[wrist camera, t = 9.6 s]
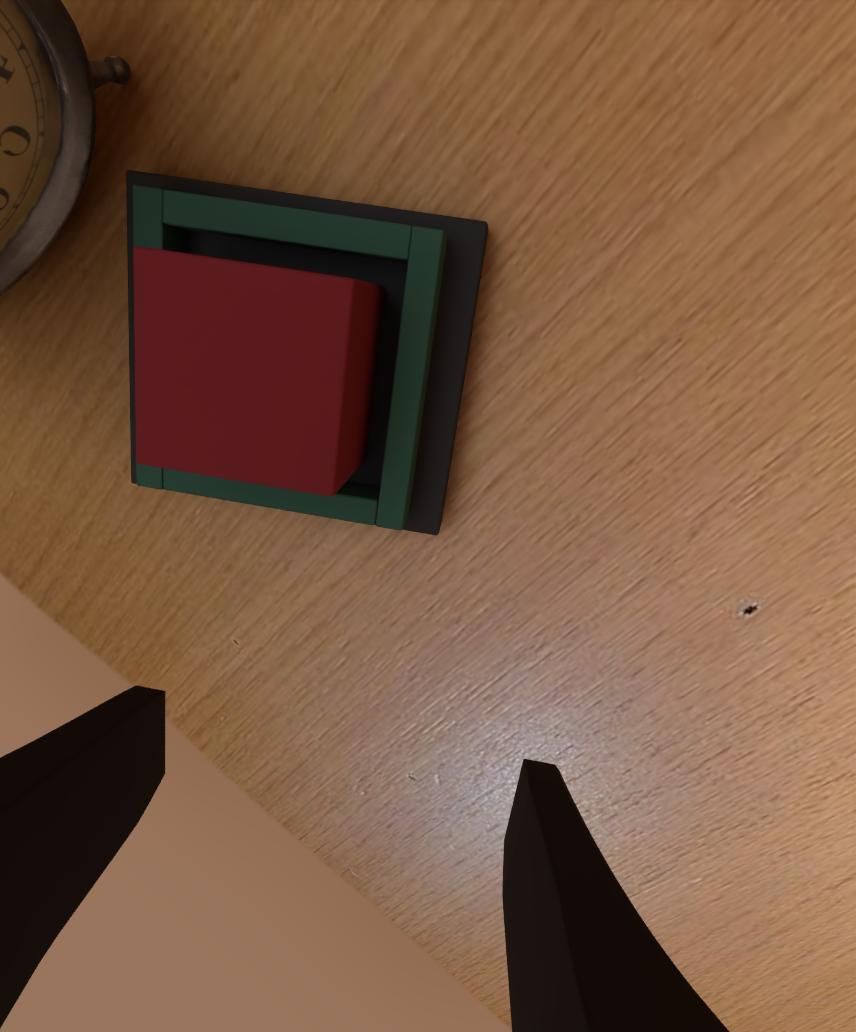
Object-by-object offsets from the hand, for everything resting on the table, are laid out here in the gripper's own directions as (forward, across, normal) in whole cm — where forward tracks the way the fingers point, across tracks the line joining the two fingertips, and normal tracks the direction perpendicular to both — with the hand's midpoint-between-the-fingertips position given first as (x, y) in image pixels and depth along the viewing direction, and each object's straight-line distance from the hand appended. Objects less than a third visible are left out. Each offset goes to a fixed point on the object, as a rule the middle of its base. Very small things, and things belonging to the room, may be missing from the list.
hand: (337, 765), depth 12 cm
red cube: (+8, +4, -6) cm, 11 cm away
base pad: (+9, +4, -6) cm, 12 cm away
